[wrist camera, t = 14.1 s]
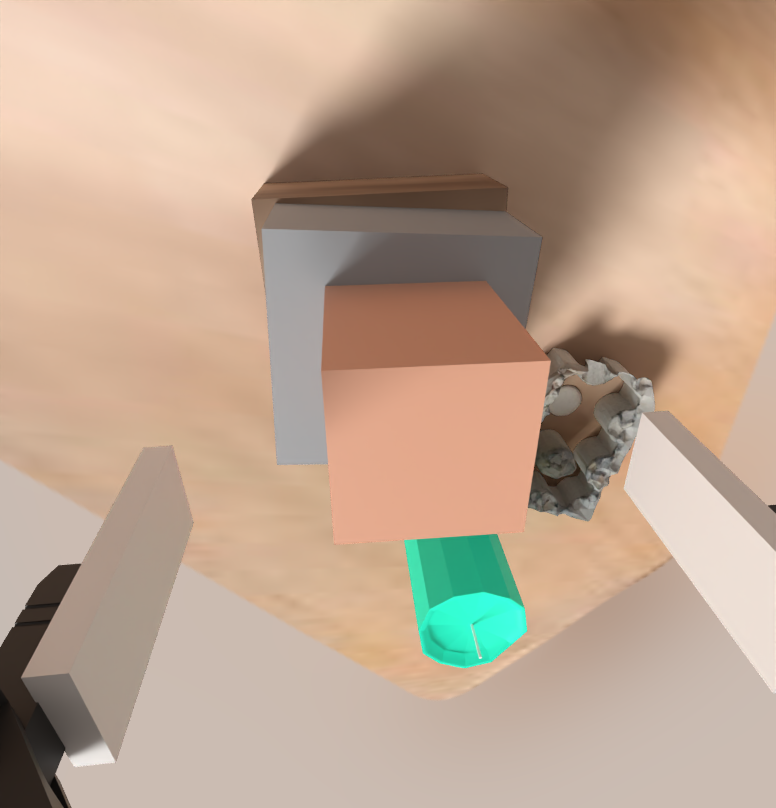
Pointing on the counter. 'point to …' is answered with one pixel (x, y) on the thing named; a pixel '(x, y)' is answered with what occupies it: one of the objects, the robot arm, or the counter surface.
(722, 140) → the counter surface
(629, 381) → the egg carton
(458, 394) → the terracotta block
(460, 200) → the tower base
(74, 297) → the counter surface
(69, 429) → the counter surface
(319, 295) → the gray tower middle block
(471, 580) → the candle
